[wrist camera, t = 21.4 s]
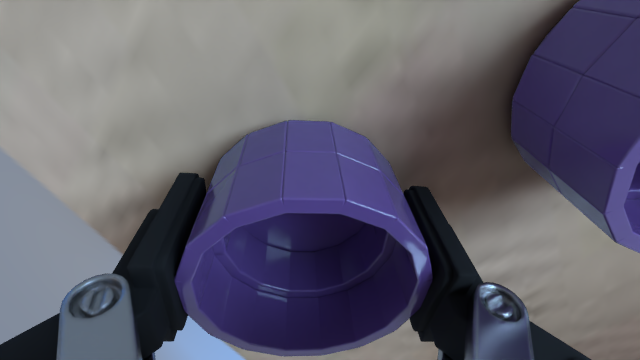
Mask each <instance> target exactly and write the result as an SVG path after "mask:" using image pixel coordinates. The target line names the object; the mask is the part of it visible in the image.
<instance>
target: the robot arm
mask: <svg viewBox="0 0 640 360" xmlns="http://www.w3.org/2000/svg"><path fill="white" fill-rule="evenodd" d="M205 196H206V187H205V180H204V178H199V175H198V174H196V173H179V175H178V176H177V178H176V180H175V182H174V184H173V185H172V187H171V189H170V191H169V192H168V194H167V196H166V198H165V200H164V201H163V203H162V205H161V207H160V208H159V209H152V210H151V211H150V212H149V213H148V214H147V216H146V218H145V219H144V221H143V223H142V224H141V226H140V228H139V229H138V231H137V233H136V234H135V236H134V238H133V240H132V241H131V243H130V245H129V246H128V248H127V250H126V251H125V253H124V255H123V256H122V258H121V260H120V261H119V263H118V265H117V266H116V268H115V270H114V271H113V273H112V274H102V275H97V276H94V277H91V278H89V279H87V280H84V281H83V282H81V283H80V284H78V285H76V286H75V287H74V288H73V289H72V290H71V291H70V292H69V293H68V294H67V295H66V297H65V298H64V300H63V301H62V305H61V308H60V313H59V314H57V315H55V316H53V317H51V318H49V319H47V320H46V321H44V322H42V323H40V324H38V325H36V326H34V327H32V328H31V329H29V330H27V331H25V332H23V333H21V334H20V335H18V336H16V337H14V338H12V339H10V340H8V341H6V342H4V343H3V344H1V345H0V360H155V353H154V352H155V351H156V350H158V349H159V348H160V347H161V346H162V344H163V341H174V339H175V336H176V333H177V330H183V328H184V326H185V322H186V319H187V316H188V315H187V314H186V313H185V311H184V310H183V307H182V304H181V301H180V298H179V295H178V292H177V289H176V285H175V280H174V277H175V274H176V271H177V269H178V266H179V263H180V260H181V257H182V254H183V252H184V249H185V246H186V243H187V241H188V238H189V236H190V233H191V231H192V228H193V226H194V223H195V221H196V218H197V216H198V213H199V211H200V208H201V206H202V203H203V201H204V198H205ZM404 196H405V199H406V201H407V203H408V205H409V207H410V209H411V212H412V214H413V216H414V218H415V221H416V223H417V225H418V227H419V229H420V232H421V234H422V236H423V238H424V241H425V243H426V245H427V247H428V252H429V257H430V262H431V268H432V273H433V282H432V284H431V286H430V288H429V291H428V293H427V295H426V297H425V300H424V302H423V304H422V306H421V308H420V309H419V310H418V311H417V312H416V313H415V314H414V315H413V316H411V317H410V322H411V325H412V328H413V330H414V331H418V334H419V337H420V340H421V341H424V342H434V343H435V345H436V347H437V348H438V349H439V350H438V358H437V360H591V359H589V358H588V357H586V356H585V355H583V354H581V353H580V352H578V351H577V350H575V349H573V348H572V347H570V346H569V345H567V344H566V343H564V342H562V341H561V340H559V339H558V338H556V337H554V336H553V335H551V334H550V333H548V332H546V331H545V330H543V329H542V328H540V327H538V326H537V325H535V324H534V323H532V322H530V321H529V316H528V312H527V309H526V307H525V305H524V303H523V302H522V300H521V299H520V298H519V297H518V296H517V295H516V294H515V293H513V292H512V291H510V290H509V289H508V288H506V287H504V286H502V285H499V284H496V283H490V282H485V283H483V281H482V279H481V278H480V276H479V274H478V272H477V271H476V269H475V267H474V265H473V264H472V262H471V260H470V259H469V257H468V255H467V253H466V252H465V250H464V248H463V246H462V245H461V243H460V241H459V239H458V238H457V236H456V234H455V232H454V231H453V229H452V227H451V226H450V224H448V222H447V220H446V218H445V217H444V215H443V213H442V211H441V210H440V208H439V206H438V204H437V202H436V201H435V199H434V197H433V195H432V194H431V192H430V190H429V189H428V187H421V186H411V187H410V188H409V190H405V191H404Z"/></svg>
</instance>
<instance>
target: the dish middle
mask: <svg viewBox="0 0 640 360" xmlns="http://www.w3.org/2000/svg"><path fill="white" fill-rule="evenodd" d="M512 99H513V101H512V116H511V136H512V140H513V142H514V144H515V145H516V147H517V149H518V151H519V152H520V154H521V156H522V158H523V160H524V161H525V162H526V163H527V164H528V165H529V166H530V167H531V168H533V169H534V170H535V171H536V172H537V173H538V174H539V175H540V176H542V177H543V178H544V179H545V180H546V181H547V182H548V183H549V184H551V185H552V186H553V187H554V188H555V189H556V190H557V191H558V192H560V193H561V194H562V195H563V196H564V197H565V198H566V199H567V200H568V201H570V202H571V203H572V204H573V205H574V206H575V207H576V208H577V209H579V210H580V211H581V212H582V213H583V214H584V215H585V216H586V217H588V218H589V219H590V220H591V221H592V222H593V223H594V224H595V225H597V226H598V227H599V228H600V229H601V230H602V231H603V232H604V233H605V234H607V235H608V236H609V237H610V238H611V239H612V240H613V241H614V242H616V243H618V244H620V245H623V246H625V247H627V248H629V249H631V250H634V251H636V252H638V253H640V0H580V1H578V2H577V3H575V4H574V5H573V8H571V9H570V10H569V11H568V12H567V13H566V14H565V15H564V17H563V18H562V19H561V20H560V21H559V22H558V23H557V24H556V25H555V26H554V27H553V29H552V30H551V31H550V32H549V33H548V34H547V35H546V37H545V38H544V39H543V41H542V42H541V43H540V45H539V46H538V47H537V49H536V50H535V52H534V54H533V55H532V56H531V57H530V59H529V61H528V64H527V66H526V68H525V70H524V72H523V74H522V77H521V79H520V82H519V84H518V87H517V89H516V91H515V93H514V96H513V98H512Z"/></svg>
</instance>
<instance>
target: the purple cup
mask: <svg viewBox="0 0 640 360" xmlns="http://www.w3.org/2000/svg"><path fill="white" fill-rule="evenodd" d="M174 280H175V285H176V289H177V292H178V295H179V298H180V301H181V304H182V307H183V310H184V311H185V313H186V314H187V315H189V316H190V317H191V318H192V319H193V320H194V321H195V322H196V323H197V324H198V325H199V326H200V327H202V328H203V329H204V330H205V331H206V332H207V333H208V334H210V335H212V336H214V337H216V338H218V339H221V340H223V341H225V342H227V343H230V344H232V345H234V346H237V347H239V348H241V349H245V350H249V351H255V352H260V353H266V354H272V355H277V356H319V355H327V354H331V353H336V352H340V351H345V350H349V349H354V348H358V347H361V346H364V345H366V344H368V343H371V342H373V341H375V340H377V339H379V338H381V337H383V336H385V335H388V334H390V333H392V332H394V331H395V330H397V329H398V328H399V327H400V326H401V325H402V324H404V323H405V322H406V321H407V320H408V319H409V318H410V317H411V316H413V315H414V314H415V313H416V312H417V311H418V310H419V309H420V308H421V306H422V304H423V302H424V300H425V297H426V295H427V293H428V291H429V288H430V286H431V284H432V282H433V273H432V268H431V262H430V257H429V252H428V247H427V245H426V243H425V241H424V238H423V236H422V234H421V232H420V229H419V227H418V225H417V223H416V221H415V218H414V216H413V214H412V212H411V209H410V207H409V205H408V203H407V201H406V199H405V196H404V194H403V192H402V190H401V187H400V185H399V183H398V181H397V179H396V176H395V174H394V172H393V170H392V167H391V165H390V163H389V162H388V161H387V159H386V158H385V157H384V156H383V155H382V154H381V153H380V152H379V150H378V149H377V148H376V147H375V146H374V145H373V144H372V143H371V142H370V140H369V139H367V138H366V137H365V136H362V135H360V134H358V133H356V132H353V131H351V130H349V129H346V128H344V127H342V126H340V125H337V124H335V123H333V122H325V121H299V120H288V122H287V121H284V122H281V123H278V124H275V125H272V126H269V127H266V128H263V129H261V130H258V131H255V132H252V133H250V134H247V135H246V136H244V137H243V138H242V139H241V140H240V141H239V142H238V143H237V144H236V145H235V146H234V147H232V148H231V149H230V150H229V151H228V152H227V153H226V154H225V155H224V156H223V157H222V158H221V160H220V161H219V163H218V166H217V168H216V171H215V173H214V176H213V178H212V181H211V183H210V186H209V188H208V191H207V193H206V196H205V198H204V201H203V203H202V206H201V208H200V211H199V213H198V216H197V218H196V221H195V223H194V226H193V228H192V231H191V233H190V236H189V238H188V241H187V243H186V246H185V249H184V252H183V254H182V257H181V260H180V263H179V266H178V269H177V271H176V274H175V277H174Z"/></svg>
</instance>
